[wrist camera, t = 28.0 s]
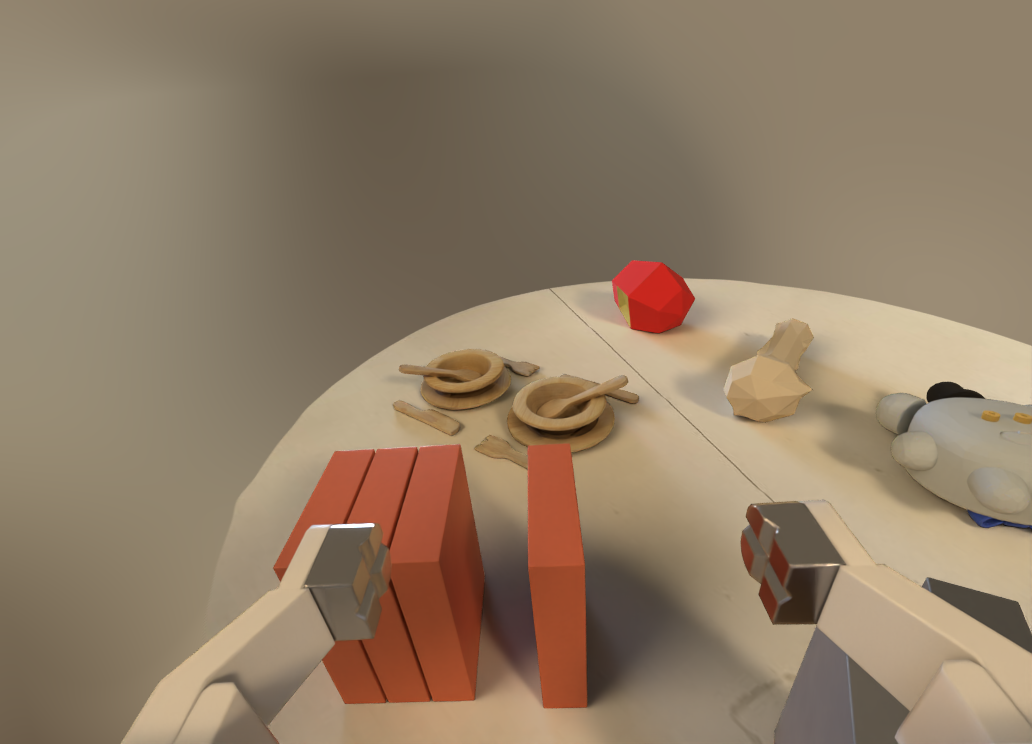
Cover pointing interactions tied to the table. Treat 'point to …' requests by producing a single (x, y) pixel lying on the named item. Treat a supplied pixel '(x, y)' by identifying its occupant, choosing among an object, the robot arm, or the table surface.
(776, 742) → the grey books
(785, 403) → the faceted club
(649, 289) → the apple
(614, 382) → the tableware set
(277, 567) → the matching books
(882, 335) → the table surface
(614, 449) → the table surface
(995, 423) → the figurine
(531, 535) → the terracotta book
